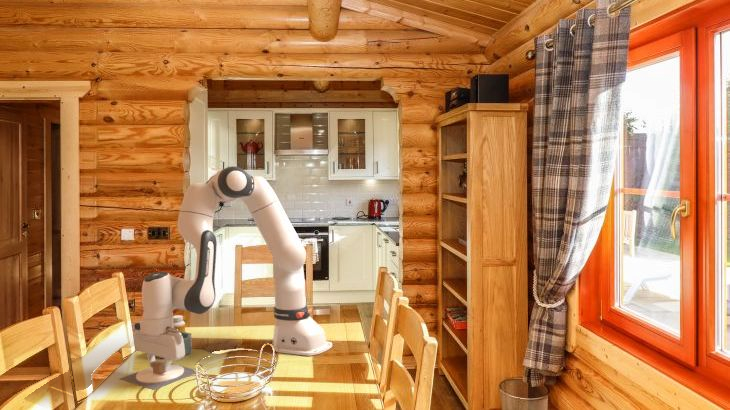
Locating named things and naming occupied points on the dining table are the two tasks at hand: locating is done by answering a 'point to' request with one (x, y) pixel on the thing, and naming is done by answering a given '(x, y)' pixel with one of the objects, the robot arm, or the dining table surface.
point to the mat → (155, 386)
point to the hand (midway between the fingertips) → (160, 368)
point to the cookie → (222, 346)
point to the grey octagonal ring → (185, 343)
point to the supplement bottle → (179, 323)
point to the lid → (159, 373)
